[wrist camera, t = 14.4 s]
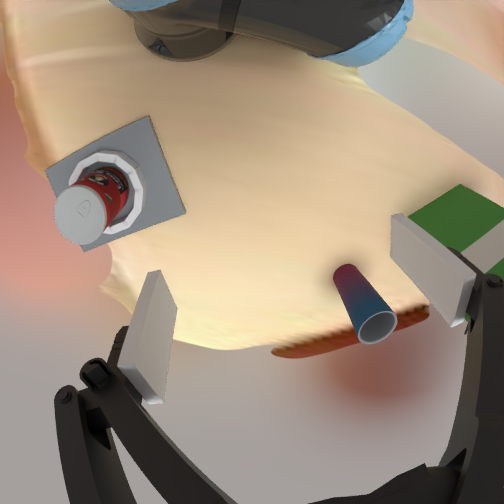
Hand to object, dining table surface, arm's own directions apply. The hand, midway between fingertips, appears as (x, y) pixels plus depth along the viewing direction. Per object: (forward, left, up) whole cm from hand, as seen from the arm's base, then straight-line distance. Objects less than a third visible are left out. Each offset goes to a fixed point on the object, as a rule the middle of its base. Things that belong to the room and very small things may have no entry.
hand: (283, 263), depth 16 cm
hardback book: (+20, +33, -30) cm, 49 cm away
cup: (+26, +12, -30) cm, 41 cm away
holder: (-3, -21, -30) cm, 36 cm away
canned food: (-3, -21, -29) cm, 36 cm away
